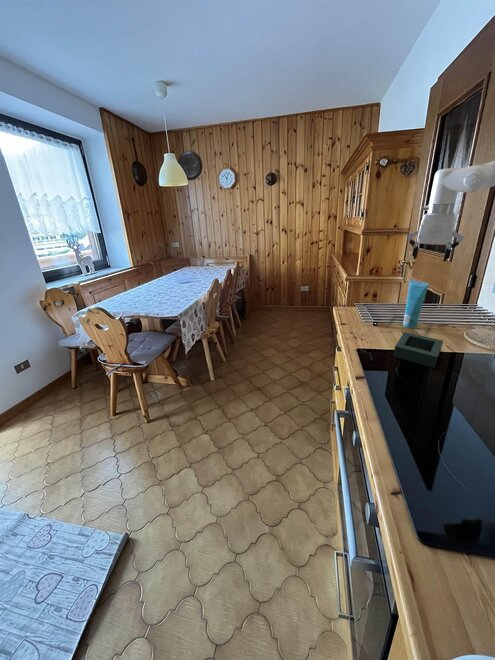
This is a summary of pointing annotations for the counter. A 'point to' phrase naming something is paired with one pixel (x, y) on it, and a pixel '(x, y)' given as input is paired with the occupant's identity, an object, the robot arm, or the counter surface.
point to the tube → (414, 302)
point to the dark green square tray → (416, 354)
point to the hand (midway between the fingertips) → (429, 259)
